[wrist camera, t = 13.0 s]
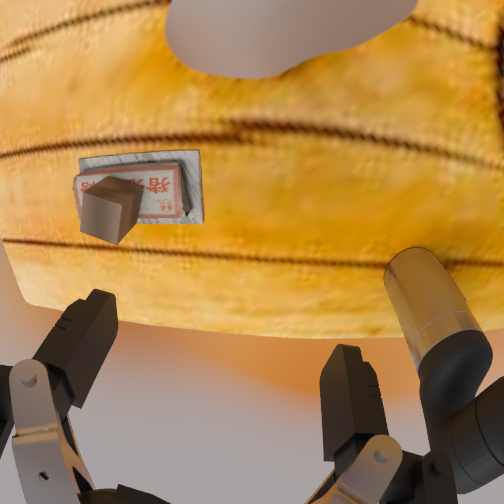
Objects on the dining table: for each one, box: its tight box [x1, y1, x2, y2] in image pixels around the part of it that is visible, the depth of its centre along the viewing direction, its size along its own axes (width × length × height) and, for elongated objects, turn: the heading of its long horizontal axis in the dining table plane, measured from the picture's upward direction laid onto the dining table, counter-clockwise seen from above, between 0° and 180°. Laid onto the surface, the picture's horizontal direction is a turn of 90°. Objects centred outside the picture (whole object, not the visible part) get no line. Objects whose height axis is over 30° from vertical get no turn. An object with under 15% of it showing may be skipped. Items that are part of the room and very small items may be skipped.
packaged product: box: [72, 150, 203, 224], centre depth 39 cm, size 18×5×10 cm
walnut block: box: [80, 175, 144, 245], centre depth 34 cm, size 5×5×6 cm
